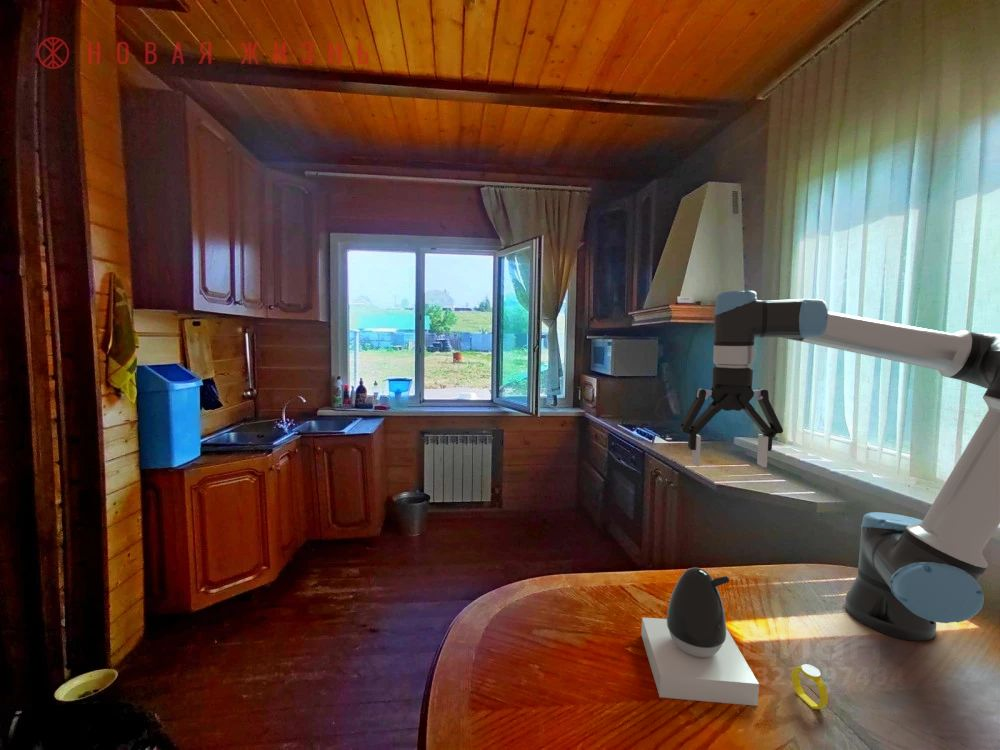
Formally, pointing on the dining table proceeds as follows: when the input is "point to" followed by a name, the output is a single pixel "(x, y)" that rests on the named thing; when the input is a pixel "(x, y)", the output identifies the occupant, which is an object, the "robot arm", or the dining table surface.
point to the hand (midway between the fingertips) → (728, 465)
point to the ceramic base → (698, 669)
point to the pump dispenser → (697, 613)
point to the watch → (816, 676)
